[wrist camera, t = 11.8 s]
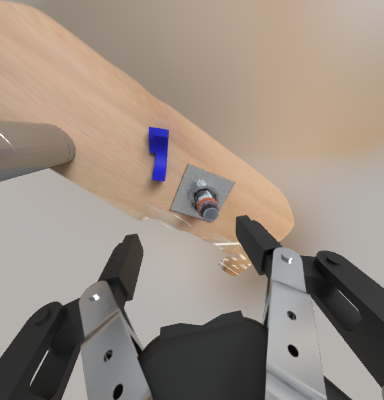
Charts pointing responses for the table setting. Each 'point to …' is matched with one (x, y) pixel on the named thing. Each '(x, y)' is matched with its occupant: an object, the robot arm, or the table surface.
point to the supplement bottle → (206, 205)
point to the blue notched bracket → (159, 151)
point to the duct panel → (196, 181)
